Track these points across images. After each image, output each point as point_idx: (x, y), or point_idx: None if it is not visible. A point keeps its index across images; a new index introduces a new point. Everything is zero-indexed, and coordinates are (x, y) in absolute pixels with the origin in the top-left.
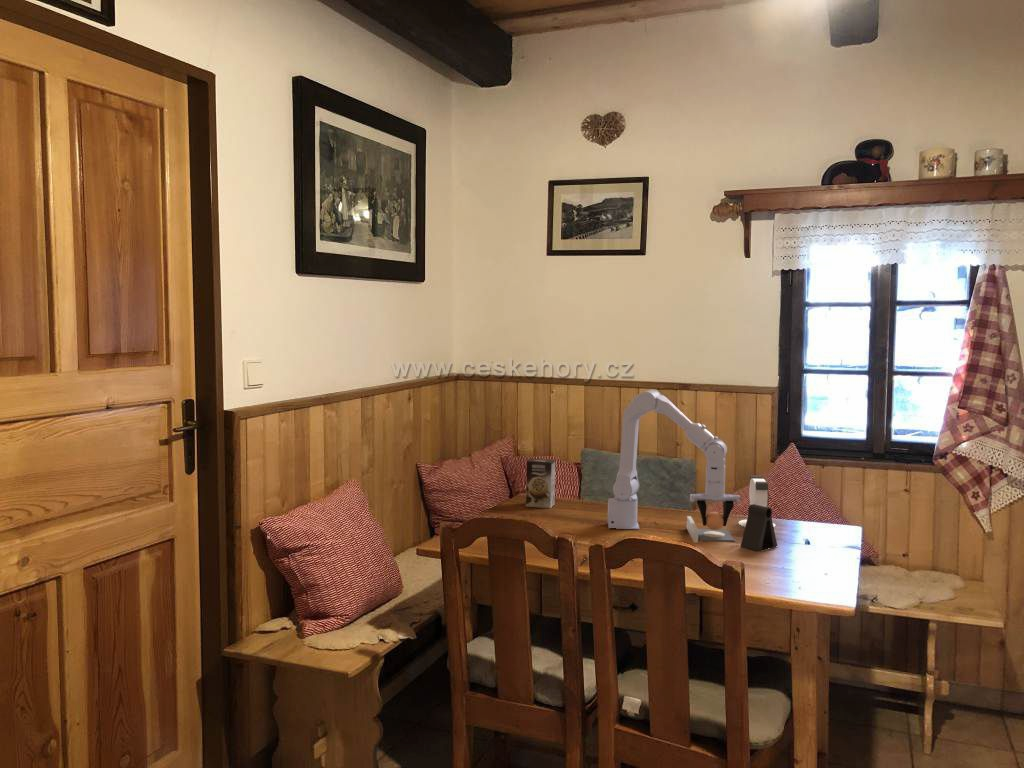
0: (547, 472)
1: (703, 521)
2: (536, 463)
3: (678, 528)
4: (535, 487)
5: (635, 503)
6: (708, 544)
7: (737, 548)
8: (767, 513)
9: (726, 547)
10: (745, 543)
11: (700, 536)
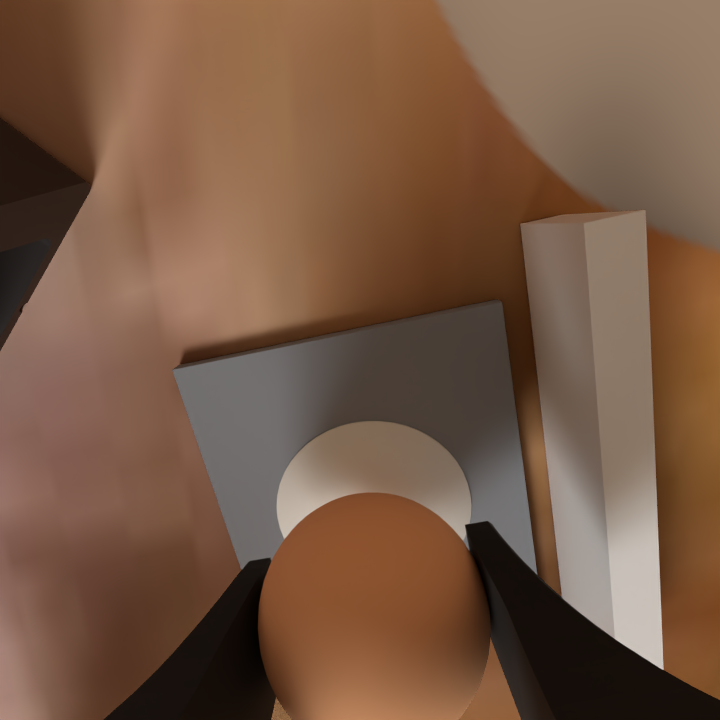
0: None
1: (509, 547)
2: None
3: (668, 642)
4: None
5: None
6: (412, 190)
7: (113, 121)
8: None
9: (225, 125)
10: (4, 151)
11: (496, 404)
